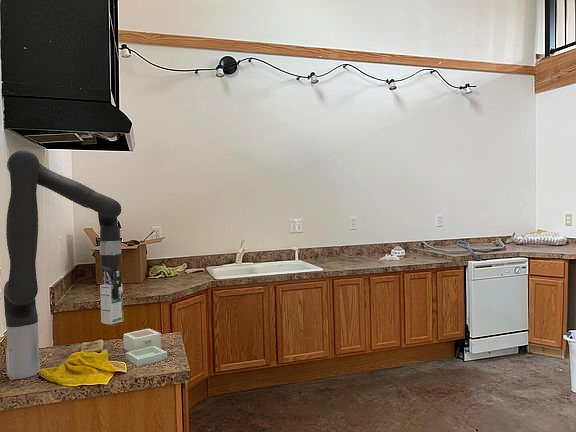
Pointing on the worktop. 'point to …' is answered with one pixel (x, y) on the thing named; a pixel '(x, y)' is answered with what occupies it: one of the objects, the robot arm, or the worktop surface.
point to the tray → (146, 356)
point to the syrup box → (111, 305)
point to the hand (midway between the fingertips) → (111, 297)
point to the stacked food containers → (141, 339)
